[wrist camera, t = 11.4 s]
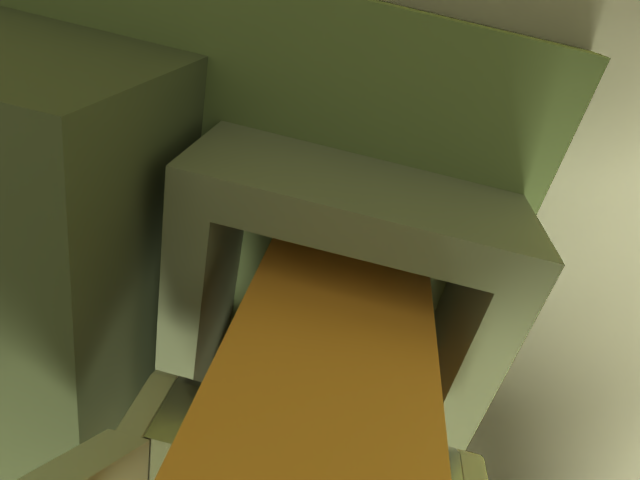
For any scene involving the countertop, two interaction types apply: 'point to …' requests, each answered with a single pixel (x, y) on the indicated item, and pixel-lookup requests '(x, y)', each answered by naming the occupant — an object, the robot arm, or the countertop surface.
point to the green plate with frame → (260, 186)
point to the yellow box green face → (320, 378)
